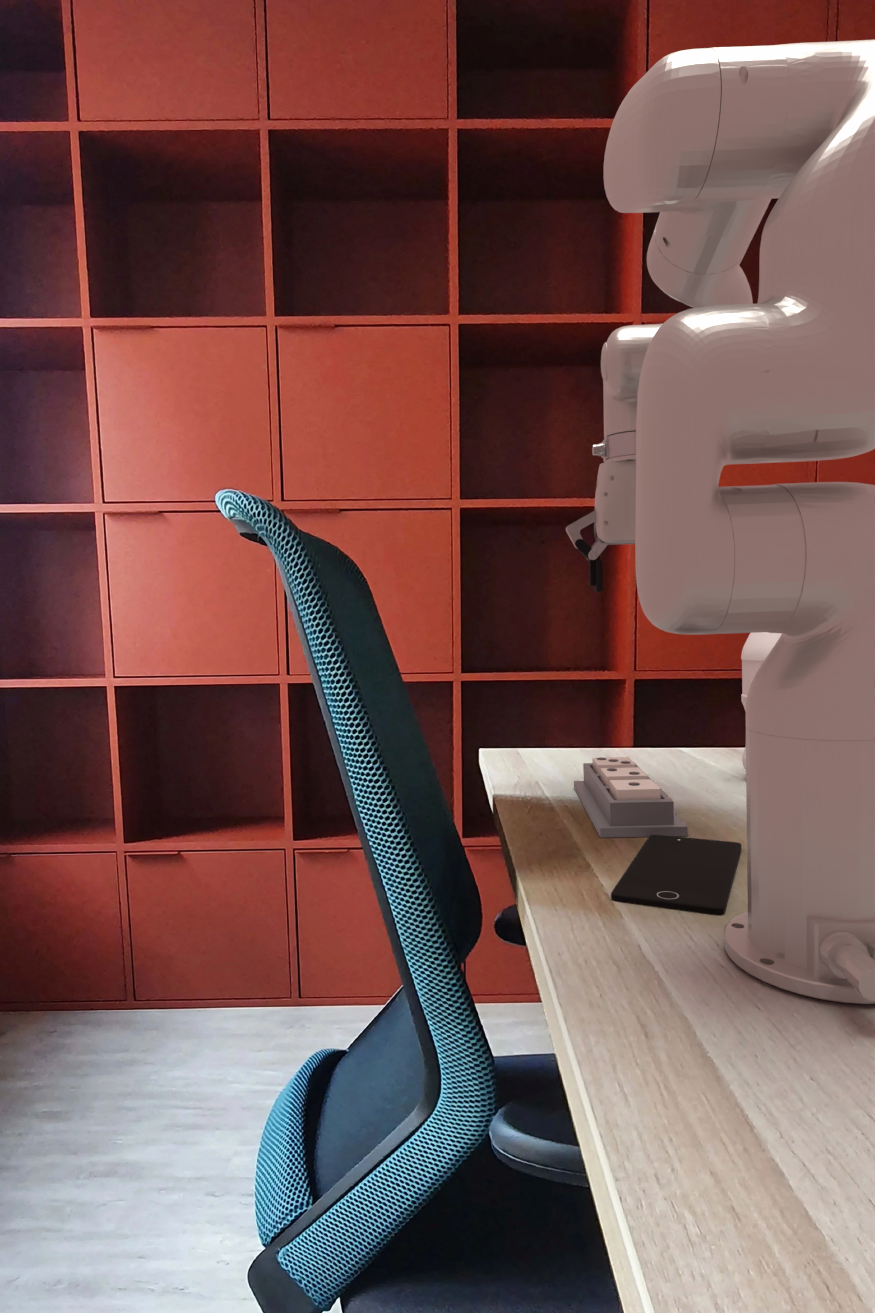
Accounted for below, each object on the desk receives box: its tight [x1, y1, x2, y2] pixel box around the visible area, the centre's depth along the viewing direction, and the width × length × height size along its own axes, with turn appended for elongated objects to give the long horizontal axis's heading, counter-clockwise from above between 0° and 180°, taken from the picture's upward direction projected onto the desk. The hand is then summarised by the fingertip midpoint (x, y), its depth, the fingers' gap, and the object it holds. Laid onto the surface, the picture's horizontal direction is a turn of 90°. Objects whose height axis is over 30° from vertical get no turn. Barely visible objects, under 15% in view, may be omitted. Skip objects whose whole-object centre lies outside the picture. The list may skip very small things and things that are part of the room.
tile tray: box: [573, 762, 689, 839], centre depth 90 cm, size 22×9×4 cm, turn 177°
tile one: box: [610, 778, 661, 800], centre depth 84 cm, size 5×5×2 cm
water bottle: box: [740, 632, 782, 772], centre depth 101 cm, size 7×7×25 cm
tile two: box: [600, 766, 648, 786], centre depth 90 cm, size 5×5×2 cm
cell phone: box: [610, 835, 743, 916], centre depth 69 cm, size 9×18×1 cm, turn 154°
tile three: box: [591, 756, 636, 774], centre depth 97 cm, size 5×5×2 cm
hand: (636, 590), depth 96 cm, fingers open, 9 cm apart
